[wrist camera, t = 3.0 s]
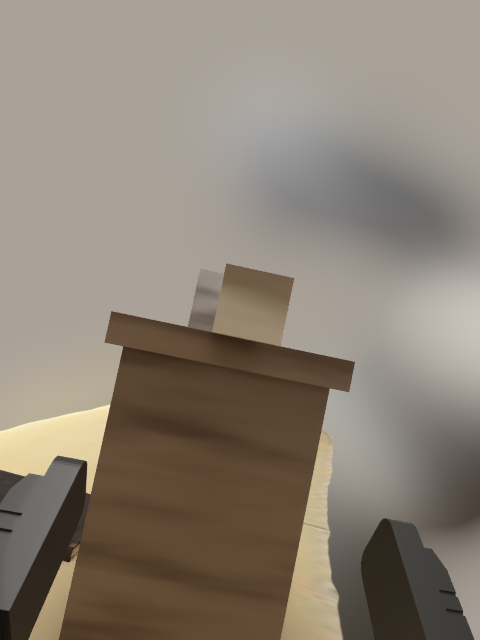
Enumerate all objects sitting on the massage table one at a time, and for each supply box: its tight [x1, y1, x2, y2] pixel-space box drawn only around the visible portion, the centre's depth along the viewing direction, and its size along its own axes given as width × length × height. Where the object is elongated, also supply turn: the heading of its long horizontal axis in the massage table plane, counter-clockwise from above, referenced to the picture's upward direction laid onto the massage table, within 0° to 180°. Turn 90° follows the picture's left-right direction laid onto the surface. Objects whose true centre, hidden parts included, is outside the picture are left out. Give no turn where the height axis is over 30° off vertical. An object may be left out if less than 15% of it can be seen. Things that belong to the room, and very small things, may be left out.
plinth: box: [59, 312, 355, 640], centre depth 38 cm, size 24×16×32 cm, turn 4°
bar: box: [188, 264, 294, 346], centre depth 34 cm, size 32×8×6 cm, turn 4°
